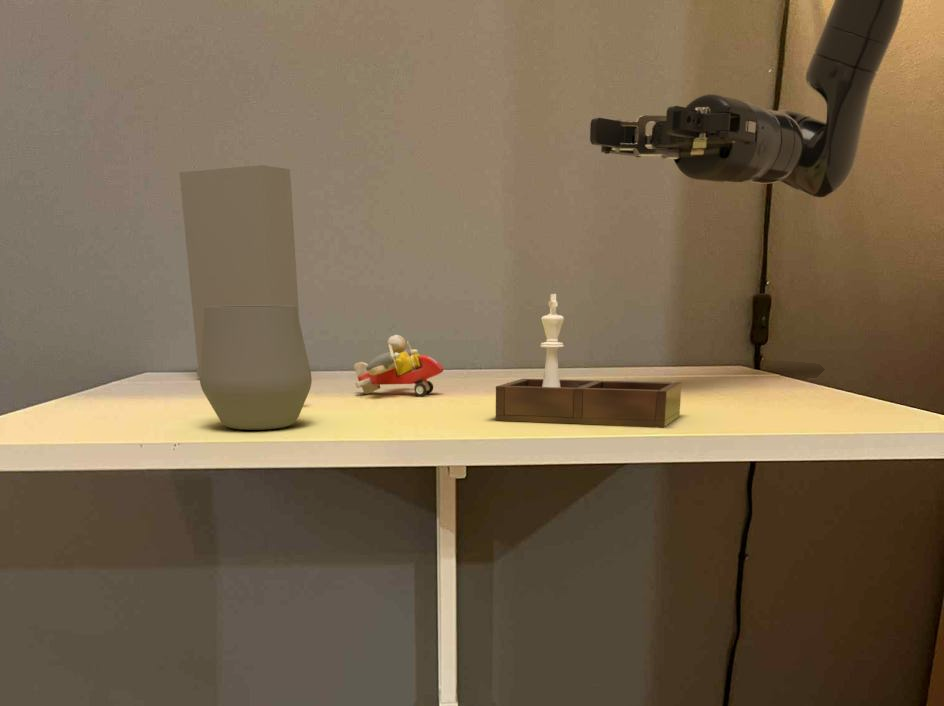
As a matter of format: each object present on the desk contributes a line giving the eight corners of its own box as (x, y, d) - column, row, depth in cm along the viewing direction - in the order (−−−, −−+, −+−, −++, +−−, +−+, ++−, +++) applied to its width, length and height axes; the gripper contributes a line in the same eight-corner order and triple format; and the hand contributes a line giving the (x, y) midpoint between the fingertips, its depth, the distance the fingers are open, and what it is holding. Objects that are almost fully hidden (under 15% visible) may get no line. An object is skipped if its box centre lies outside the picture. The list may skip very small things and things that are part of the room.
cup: (328, 420, 89) (322, 304, 86) (291, 435, 81) (282, 307, 77) (231, 418, 91) (222, 305, 88) (185, 432, 83) (172, 307, 79)
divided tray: (679, 415, 91) (681, 382, 90) (664, 427, 84) (666, 391, 82) (522, 410, 96) (522, 378, 95) (495, 420, 89) (495, 386, 88)
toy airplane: (448, 395, 109) (447, 334, 107) (374, 400, 105) (371, 337, 103) (410, 388, 116) (408, 332, 114) (339, 393, 112) (336, 334, 110)
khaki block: (308, 379, 129) (295, 169, 120) (276, 383, 124) (261, 165, 116) (230, 375, 136) (213, 176, 127) (197, 379, 131) (177, 172, 122)
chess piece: (530, 412, 88) (532, 294, 85) (519, 406, 93) (520, 294, 89) (583, 411, 89) (587, 293, 85) (569, 404, 93) (573, 293, 90)
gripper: (670, 108, 103) (570, 89, 92) (796, 89, 93) (700, 65, 83) (666, 187, 106) (568, 177, 95) (787, 176, 96) (694, 164, 85)
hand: (630, 125), depth 89 cm, fingers open, 8 cm apart
